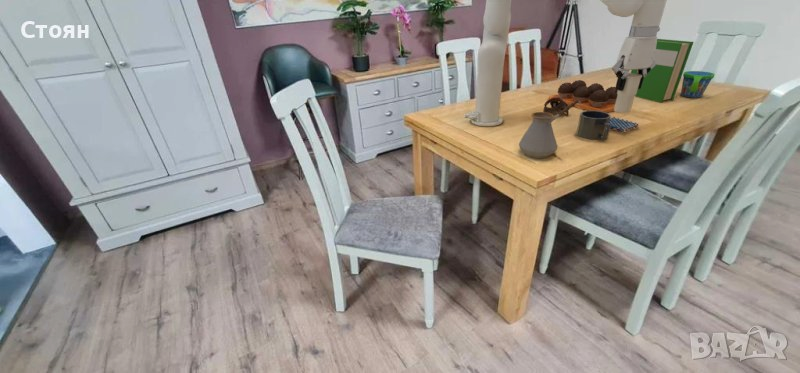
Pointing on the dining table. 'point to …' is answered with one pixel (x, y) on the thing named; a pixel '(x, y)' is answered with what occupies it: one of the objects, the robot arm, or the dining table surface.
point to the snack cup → (695, 83)
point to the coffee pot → (541, 135)
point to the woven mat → (621, 125)
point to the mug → (593, 125)
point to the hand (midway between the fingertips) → (627, 88)
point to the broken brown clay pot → (555, 105)
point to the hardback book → (665, 70)
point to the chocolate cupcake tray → (588, 96)
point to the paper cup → (627, 93)
